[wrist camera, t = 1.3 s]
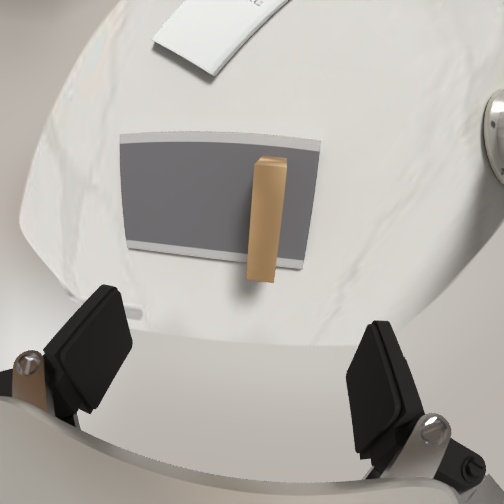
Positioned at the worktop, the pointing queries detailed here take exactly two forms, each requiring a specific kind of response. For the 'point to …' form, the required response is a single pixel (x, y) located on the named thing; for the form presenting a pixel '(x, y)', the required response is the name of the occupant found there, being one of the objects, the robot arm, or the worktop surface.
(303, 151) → the mat
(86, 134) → the worktop surface
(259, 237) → the wooden block
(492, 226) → the worktop surface
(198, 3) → the external hard drive
